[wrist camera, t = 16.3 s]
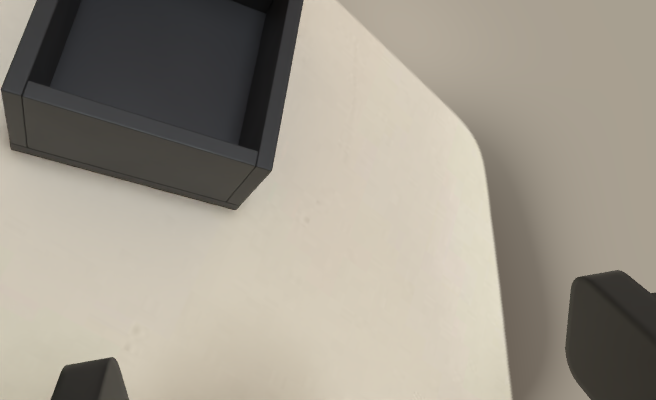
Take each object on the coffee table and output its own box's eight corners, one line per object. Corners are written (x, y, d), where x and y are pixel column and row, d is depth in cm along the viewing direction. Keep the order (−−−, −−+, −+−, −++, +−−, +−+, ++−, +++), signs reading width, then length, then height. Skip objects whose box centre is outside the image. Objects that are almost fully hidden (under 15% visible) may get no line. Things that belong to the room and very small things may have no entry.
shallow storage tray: (236, 210, 33) (272, 171, 27) (10, 149, 29) (-1, 89, 23) (275, 16, 38) (312, -50, 32) (89, -58, 34) (95, -146, 29)
